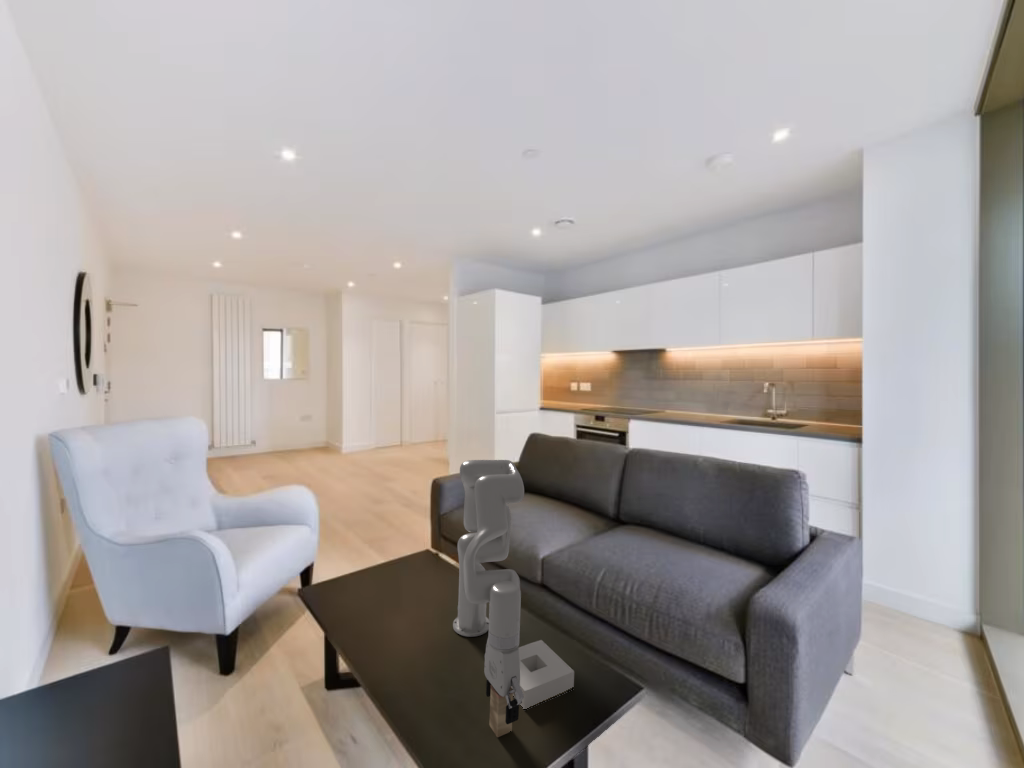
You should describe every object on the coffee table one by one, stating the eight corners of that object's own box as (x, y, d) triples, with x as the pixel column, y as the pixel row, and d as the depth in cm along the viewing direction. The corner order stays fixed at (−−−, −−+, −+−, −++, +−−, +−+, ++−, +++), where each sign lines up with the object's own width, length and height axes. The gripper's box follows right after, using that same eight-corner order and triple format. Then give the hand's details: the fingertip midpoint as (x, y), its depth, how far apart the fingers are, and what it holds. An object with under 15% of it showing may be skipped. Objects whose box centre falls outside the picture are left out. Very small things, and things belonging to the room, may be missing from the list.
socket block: (494, 672, 124) (495, 655, 124) (540, 655, 132) (541, 639, 132) (524, 710, 110) (524, 691, 110) (573, 689, 118) (574, 671, 118)
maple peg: (489, 725, 105) (490, 684, 105) (503, 719, 107) (505, 679, 107) (497, 737, 102) (498, 695, 101) (512, 731, 104) (513, 689, 103)
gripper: (474, 622, 109) (472, 690, 110) (508, 662, 95) (505, 739, 95) (500, 615, 113) (498, 680, 113) (536, 652, 98) (534, 726, 98)
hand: (501, 707), depth 104 cm, fingers open, 9 cm apart
